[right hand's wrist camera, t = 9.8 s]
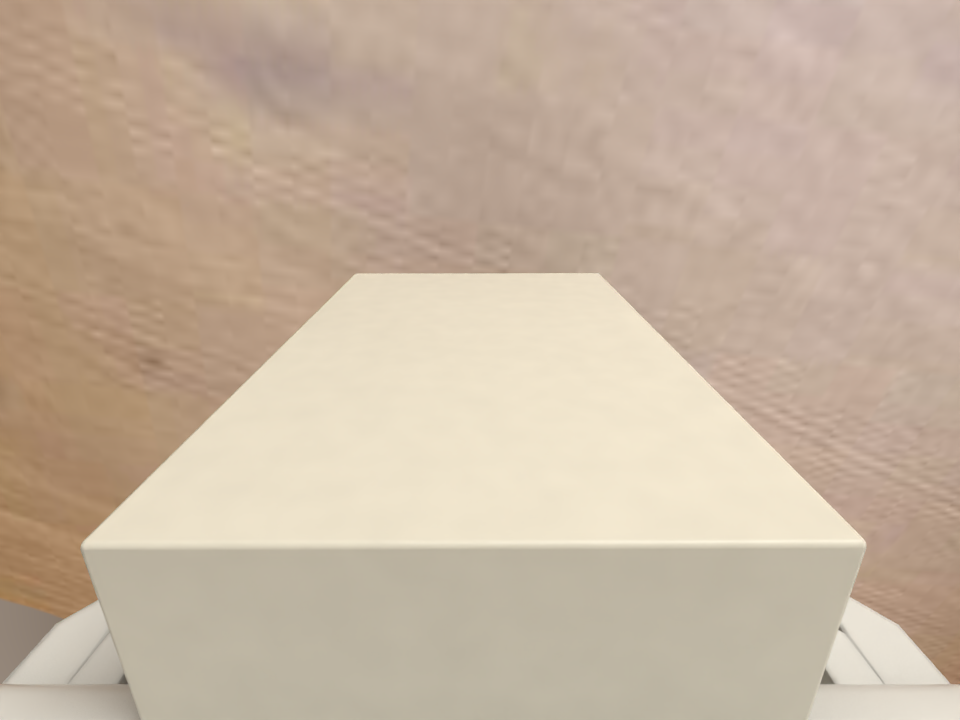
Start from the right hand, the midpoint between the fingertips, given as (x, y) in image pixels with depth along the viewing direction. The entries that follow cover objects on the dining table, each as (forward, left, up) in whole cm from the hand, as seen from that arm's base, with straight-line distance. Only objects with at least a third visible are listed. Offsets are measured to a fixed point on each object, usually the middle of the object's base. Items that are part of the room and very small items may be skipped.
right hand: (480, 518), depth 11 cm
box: (0, +9, -5) cm, 10 cm away
